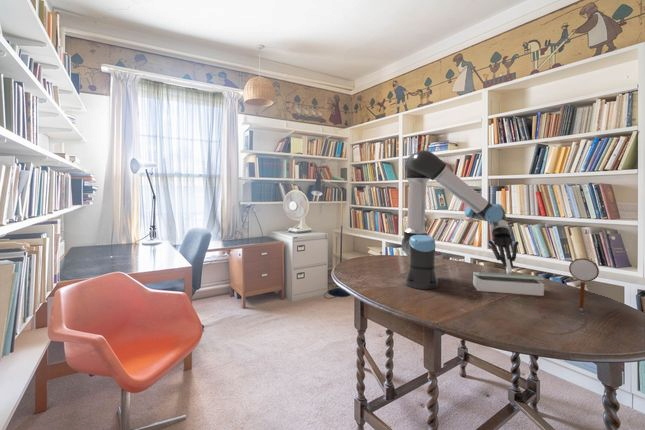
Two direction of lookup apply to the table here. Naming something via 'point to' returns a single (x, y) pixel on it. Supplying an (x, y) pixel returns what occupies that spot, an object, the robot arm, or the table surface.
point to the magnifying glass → (583, 274)
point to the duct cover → (508, 275)
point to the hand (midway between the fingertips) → (509, 273)
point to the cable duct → (508, 285)
